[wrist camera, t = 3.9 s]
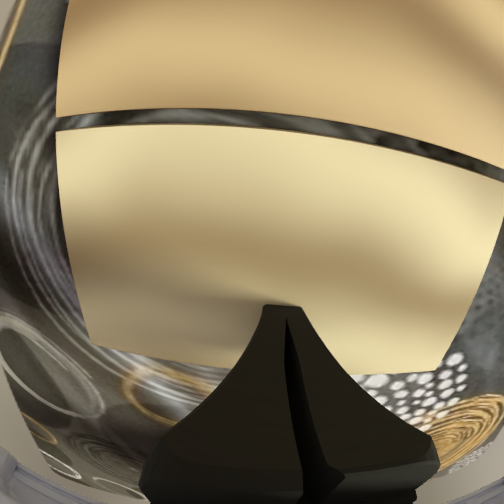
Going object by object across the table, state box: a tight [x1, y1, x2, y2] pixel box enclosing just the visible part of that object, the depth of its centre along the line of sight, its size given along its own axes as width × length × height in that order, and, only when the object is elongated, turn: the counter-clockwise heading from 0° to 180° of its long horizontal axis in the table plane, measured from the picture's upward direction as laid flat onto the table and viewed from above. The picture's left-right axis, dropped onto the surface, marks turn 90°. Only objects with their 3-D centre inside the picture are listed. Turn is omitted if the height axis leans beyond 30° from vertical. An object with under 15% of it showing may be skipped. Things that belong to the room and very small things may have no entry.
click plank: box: [56, 123, 504, 375], centre depth 10 cm, size 9×16×2 cm, turn 85°
